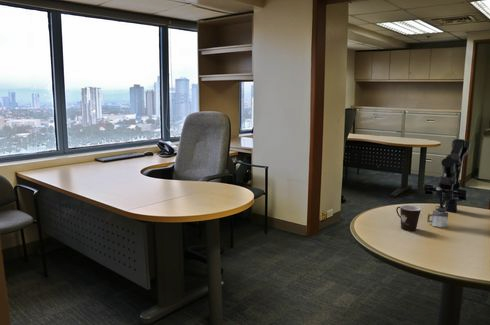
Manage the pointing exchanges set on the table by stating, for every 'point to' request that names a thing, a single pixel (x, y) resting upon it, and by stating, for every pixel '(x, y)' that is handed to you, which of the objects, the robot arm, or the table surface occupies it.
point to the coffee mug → (409, 217)
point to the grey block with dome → (438, 219)
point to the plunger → (440, 209)
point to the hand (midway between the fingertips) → (441, 206)
